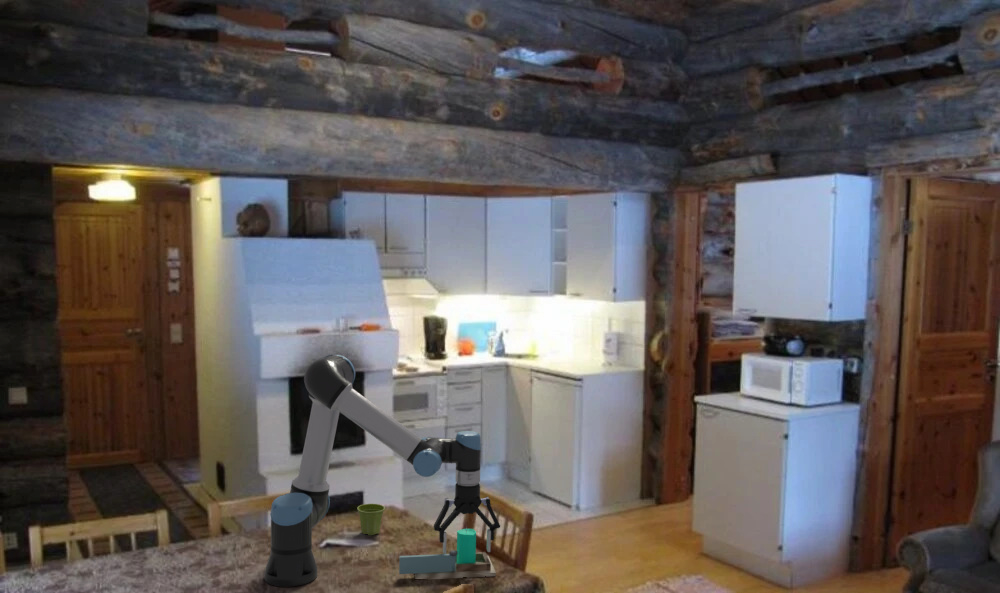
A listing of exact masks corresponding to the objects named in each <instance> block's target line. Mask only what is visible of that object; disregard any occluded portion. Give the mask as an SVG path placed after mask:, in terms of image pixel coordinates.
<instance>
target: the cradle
mask: <svg viewBox="0 0 1000 593" xmlns="http://www.w3.org/2000/svg"><path fill="white" fill-rule="evenodd" d="M413 574H415V575H414V579H428V580H442V579H443V580H444V579H447V580H448V579H464V578H463V577H467V578H482V577H485V576H486V577H496V576H497V572H496V569H495V567H494V565H493V563H492V561H491V559H490V556H489V555H488V554H487V553H486V551H478V552H477V551H476V563H467V564H457V555H456V571H454V572H433V573H413Z"/></svg>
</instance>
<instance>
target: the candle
mask: <svg viewBox="0 0 1000 593" xmlns="http://www.w3.org/2000/svg"><path fill="white" fill-rule="evenodd" d="M456 551H458V554H457V564H467V563H476V552H477V531H476V530H475V529H474V528H468V527H466V528H463V529H462V528H461V529H459V530H457V531H456Z"/></svg>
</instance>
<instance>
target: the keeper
mask: <svg viewBox="0 0 1000 593" xmlns="http://www.w3.org/2000/svg"><path fill="white" fill-rule="evenodd" d="M457 554H458V551H457V549H455V550H454V549H451V550H450V551H449V553H446V554H443V553H436V554H419V555H417V554H415V555H399V557H398V558H399V562H398V563H399V564H398V566H399V568H398V573H399V575H409V574H410V575H411V574H414V573H433V572H454V571H456V555H457Z"/></svg>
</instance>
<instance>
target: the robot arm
mask: <svg viewBox="0 0 1000 593" xmlns="http://www.w3.org/2000/svg"><path fill="white" fill-rule="evenodd" d="M355 378H356V370H355V366H354V365H353V362H352V361H351V360H350V359H349V358H347V357H346V356H344V355H342V354H341V355H340V354H329V355H326V356H324V357H323V358H321V359H317V360H315V361H314V362H312V363H310V365H309V366H308V367H307V368H306V371H305V374H304V378H303V381H304V385H305V388H306V391H307V392H308V397H309V399H310V400H311V401H312V403H311V410H310V413H309V414H310V415H309V420H308V424H307V429H306V436H305V440H304V446H303V450H302V455H301V460H300V465H299V471H298V476H297V477H295V478H294V479H292V481H291V485H290V490H289V492H288V493H285V494H282V495H279V496H277V497H276V498H275V499H273V501H272V503H271V509H270V554H269V556H268V560H267V562H266V566H265V568H264V581H265V583H267V584H268V585H271V586H275V587H285V588H287V587H288V588H289V587H296V586H302V585H305V584H309V583H310V582H313V581H314V580H316V579H317V577H318V565H317V561H316V559H315V556H314V552H313V548H312V547H313V546H312V543H313V542H312V539H313V537H312V536H313V535H312V534H313V533H312V532H313V529H314V528H315V527H316V525H318V523H320V522H321V521H322V520H323V519H324V518H325V516H326V515H327V513H328V511H329V508H330V505H331V504H330V503H331V502H330V494H329V492H330V484H329V483H328V481H327V477H328V472H329V467H330V461H331V457H332V453H333V447H334V441H335V437H336V432H337V427H338V421H339V416H340V414H341V415H343V416H345V417H346V418H347V419H348V420H350V421H352V422H353V423H354V424H356V426H359V427H360V428H361V429H362V430H364V431H365V432H367V433H368V434H370V435H371V436H372V437H374V438H375V439H376V440H378V441H380V443H382V444H383V445H385V446H386V447H387V448H389V449H390V450H392V451H393V452H394V453H396V454H397V455H398V456H400V457H401V458H403V459H404V460H406V461H407V463H409V464H411V465H412V466H413V469H414V471H415V472H416V474H418V475H419V476H421V477H423V478H429V477H432V476H433V475H435V474H436V473H437V472H438V471H439V470H440V469H441V467H442V464H455V482H456V483H455V485H454V487H455V488H454V491H455V494H454V499H449V498H448V497H446V498H444V503H443V507H442V508H441V510H440V512H439V515H438V516H437V518H436V520H435V522H434V524H433V529H434V532H435V531H436V532H438V533H439V535H438V536H439V537H438V539H439V542H440V543H442V554H447V529H448V528H449V526H450V525H451V524H452V523H453V522H454V520H455V519H456V518H457V517H458V516H459V515H460V514H462V515H466V514H467V515H468V514H470V515H472V514H474V513H476V514H477V516H478V517H479V518H480V519H481V520H482V521H483V522H484V524H485V525H486V526H487V528H486V551H487V553H491V548H492V546H491V541H494V539H495V531H496V529H500V528H501V524H500V522H499V520H498V518H497V516H496V514H495V512H494V510H493V507H492V506H491V504H492V503H491V499H490V498H489V496H486V497H484V498H481V483H480V482H481V461H482V459H481V458H482V444H481V442H482V441H481V439H482V438H481V434H480V433H478V432H477V431H472V430H466V431H465V430H464V431H463V430H462V431H459V432H457V433H456V435H455V437H453V438H451V437H449V438H448V437H432V436H428V437H425V436H424V437H420V436H418V435H417V434H416V433H415V432H414V431H412V430H411V429H409V428H407V426H405V425H403V424H402V423H401V422H399V421H398V419H395V418H394V417H392V415H390V414H388V413H387V412H386V411H384V410H383V409H382V408H380V407H379V406H377V405H376V404H375V403H373V401H370V400H369V399H368V398H366V397H365V395H364V396H363V395H362V394H361V393H360V392H358V391H357V390H356V389H354V388H353V384H354V381H355ZM481 504H483V506H485V507H486V509H487V511H488V513H489V515H490V517H491V519H492V521H493V523H492V522H491V521H490V520H489V518H488V517H487V516H486V515H485V513H484V512H482V510H481V509H480V508H479V507H480V506H481ZM452 505H454V506H455V507H454V509H453V511H452V512H451V513H450V514H449V516H448V517H447V518H446V519H445V517H446V515H447V513H448V511H449V508H450V507H451V508H452ZM444 519H445V520H444ZM442 522H443V523H442Z"/></svg>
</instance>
